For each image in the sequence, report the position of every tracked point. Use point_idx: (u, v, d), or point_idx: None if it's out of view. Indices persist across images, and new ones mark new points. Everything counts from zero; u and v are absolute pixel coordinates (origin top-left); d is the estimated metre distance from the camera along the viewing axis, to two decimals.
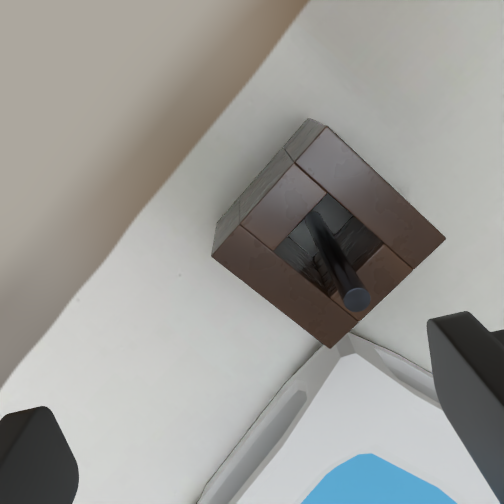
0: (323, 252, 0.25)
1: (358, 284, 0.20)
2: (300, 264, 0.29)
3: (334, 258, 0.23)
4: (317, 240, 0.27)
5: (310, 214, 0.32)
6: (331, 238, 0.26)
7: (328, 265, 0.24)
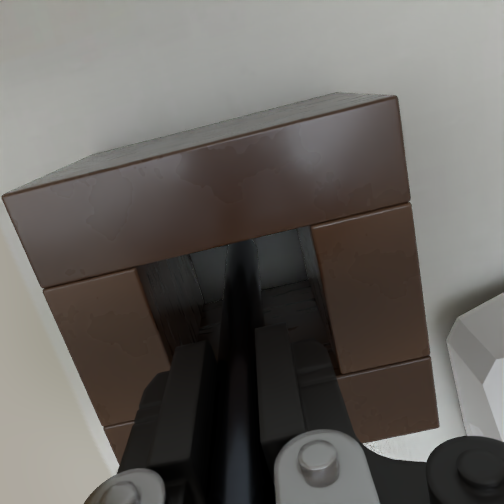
0: None
1: None
2: None
3: (214, 397, 0.09)
4: None
5: None
6: (227, 312, 0.12)
7: None
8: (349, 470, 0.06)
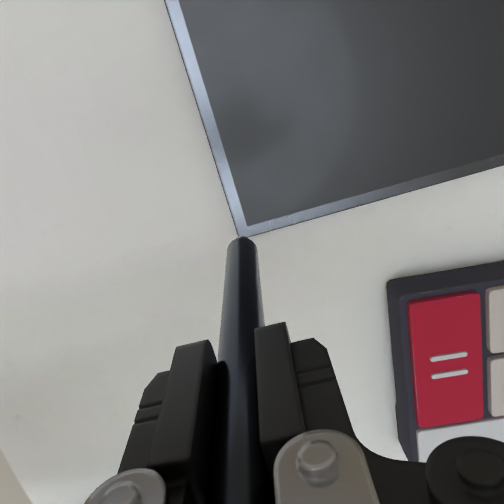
0: None
1: None
2: None
3: (214, 399, 0.09)
4: None
5: None
6: (227, 313, 0.12)
7: None
8: (348, 470, 0.06)
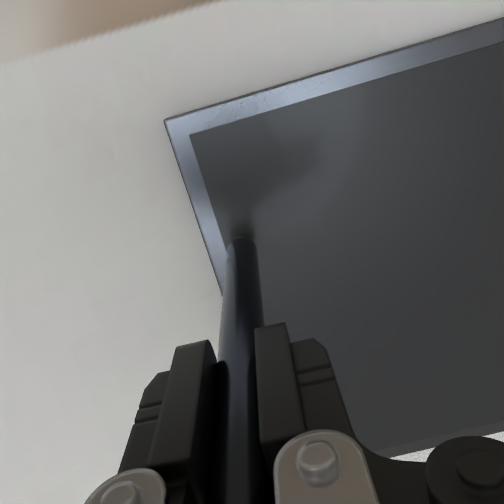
0: None
1: None
2: None
3: (214, 399, 0.09)
4: None
5: None
6: (227, 313, 0.12)
7: None
8: (349, 470, 0.06)
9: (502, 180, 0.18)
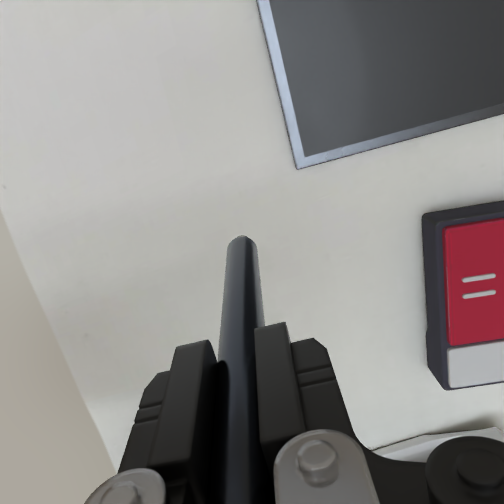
0: None
1: None
2: None
3: (214, 398, 0.09)
4: None
5: None
6: (227, 312, 0.12)
7: None
8: (348, 470, 0.06)
9: None
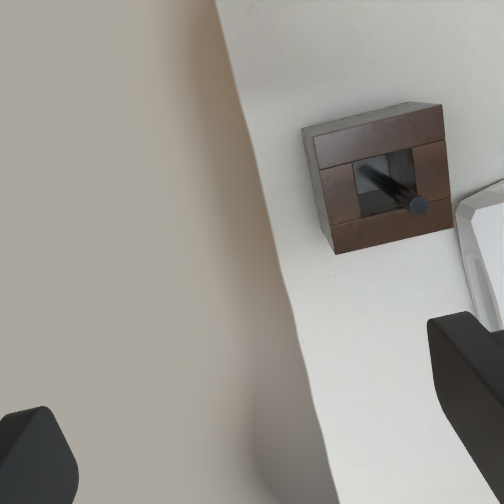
0: (384, 192, 0.34)
1: (410, 198, 0.29)
2: (384, 204, 0.38)
3: (391, 192, 0.33)
4: (376, 186, 0.36)
5: (361, 171, 0.41)
6: (381, 178, 0.35)
7: (392, 198, 0.33)
8: None
9: None
